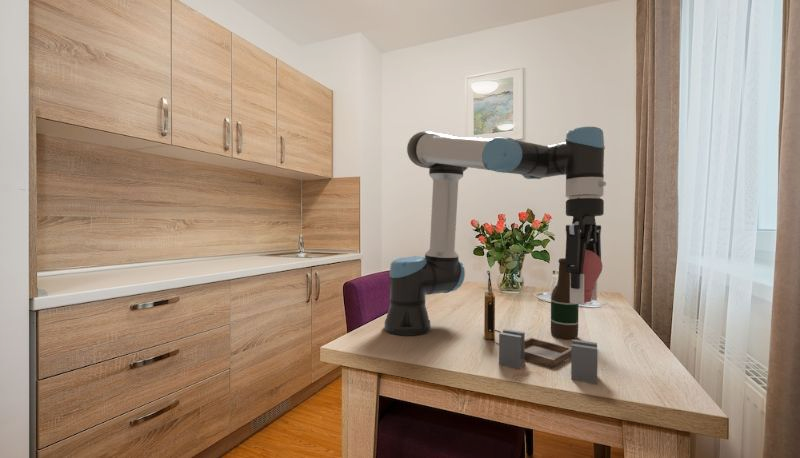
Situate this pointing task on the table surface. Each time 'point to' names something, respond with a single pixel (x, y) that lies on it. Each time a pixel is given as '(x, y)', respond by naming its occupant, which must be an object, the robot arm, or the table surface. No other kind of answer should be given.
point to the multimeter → (489, 313)
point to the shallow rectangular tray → (546, 352)
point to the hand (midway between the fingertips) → (583, 300)
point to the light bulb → (590, 273)
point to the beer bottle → (563, 307)
